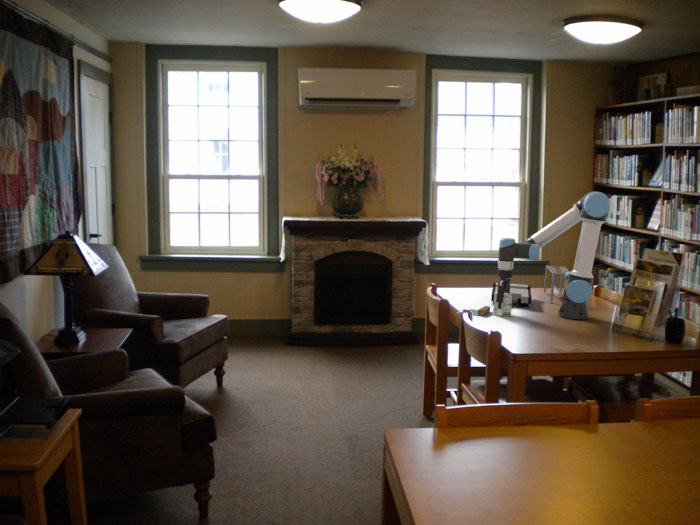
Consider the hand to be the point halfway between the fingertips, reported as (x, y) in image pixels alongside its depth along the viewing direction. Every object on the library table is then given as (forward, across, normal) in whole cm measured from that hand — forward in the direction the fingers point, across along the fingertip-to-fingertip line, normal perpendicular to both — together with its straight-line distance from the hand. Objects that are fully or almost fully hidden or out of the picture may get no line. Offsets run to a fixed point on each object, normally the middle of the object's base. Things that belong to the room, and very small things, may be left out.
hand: (502, 313), depth 359 cm
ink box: (+2, 0, 0) cm, 2 cm away
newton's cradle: (+2, -65, +13) cm, 66 cm away
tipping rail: (+1, +3, -8) cm, 9 cm away
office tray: (+2, -38, -6) cm, 39 cm away
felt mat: (+1, +3, -13) cm, 13 cm away
